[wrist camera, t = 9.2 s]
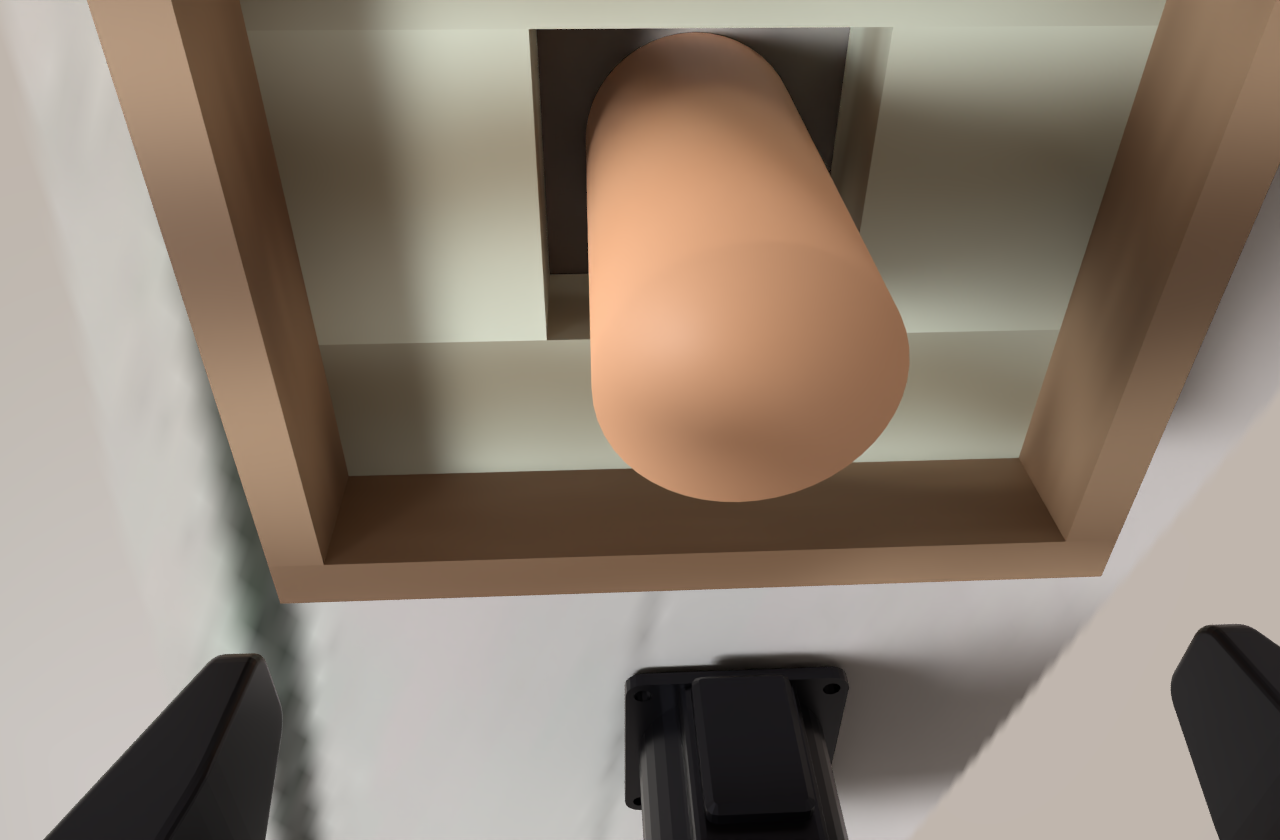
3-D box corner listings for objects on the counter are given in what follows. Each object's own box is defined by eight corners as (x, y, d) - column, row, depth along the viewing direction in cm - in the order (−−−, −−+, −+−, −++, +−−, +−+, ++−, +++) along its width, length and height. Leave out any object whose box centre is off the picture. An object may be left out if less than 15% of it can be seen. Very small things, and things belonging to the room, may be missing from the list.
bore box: (1011, 422, 23) (1100, 576, 19) (332, 439, 22) (280, 603, 18) (1237, -313, 15) (1482, -307, 11) (151, -326, 14) (-17, -325, 10)
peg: (783, 234, 20) (881, 497, 14) (588, 237, 20) (594, 505, 13) (806, 31, 17) (938, 237, 11) (583, 33, 17) (588, 243, 11)
